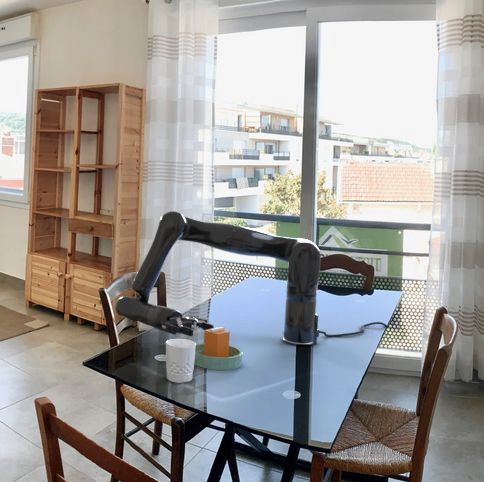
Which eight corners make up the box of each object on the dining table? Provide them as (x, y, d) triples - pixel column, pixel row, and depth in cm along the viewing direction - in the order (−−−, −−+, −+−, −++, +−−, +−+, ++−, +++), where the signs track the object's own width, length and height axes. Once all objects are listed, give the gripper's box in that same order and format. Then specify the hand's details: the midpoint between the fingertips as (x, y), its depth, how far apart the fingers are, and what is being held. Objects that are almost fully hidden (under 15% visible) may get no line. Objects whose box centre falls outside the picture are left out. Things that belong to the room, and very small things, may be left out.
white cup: (161, 374, 169) (162, 338, 168) (189, 373, 170) (190, 338, 169) (169, 384, 161) (170, 347, 160) (198, 383, 162) (199, 347, 161)
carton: (214, 358, 182) (216, 324, 181) (228, 362, 178) (229, 328, 176) (203, 360, 179) (204, 327, 178) (216, 365, 175) (217, 331, 174)
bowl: (231, 355, 186) (231, 342, 186) (249, 371, 172) (250, 357, 171) (184, 355, 185) (184, 343, 185) (198, 372, 171) (198, 358, 170)
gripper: (147, 310, 191) (185, 321, 178) (180, 304, 199) (219, 315, 185) (147, 333, 192) (185, 346, 178) (180, 327, 200) (218, 339, 186)
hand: (202, 330), depth 182 cm, fingers open, 8 cm apart
